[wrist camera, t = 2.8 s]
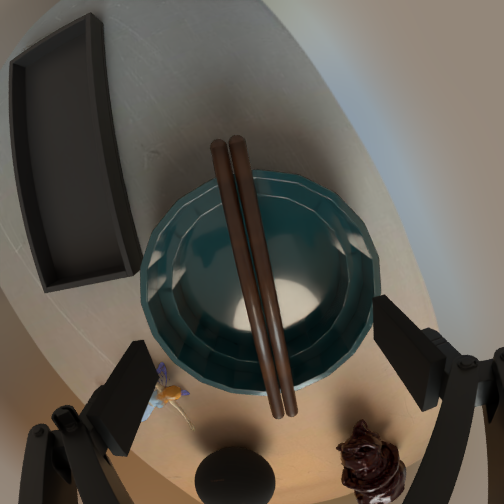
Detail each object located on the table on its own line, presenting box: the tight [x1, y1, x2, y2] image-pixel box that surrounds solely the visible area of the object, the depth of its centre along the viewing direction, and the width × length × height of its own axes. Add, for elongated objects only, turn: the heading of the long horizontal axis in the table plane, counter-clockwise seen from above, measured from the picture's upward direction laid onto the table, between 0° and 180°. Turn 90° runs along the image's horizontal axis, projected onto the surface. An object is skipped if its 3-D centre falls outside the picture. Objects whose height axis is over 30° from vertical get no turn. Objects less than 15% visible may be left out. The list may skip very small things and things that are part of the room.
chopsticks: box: [210, 135, 298, 419], centre depth 21 cm, size 23×2×1 cm, turn 12°
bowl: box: [140, 169, 381, 396], centre depth 25 cm, size 18×18×6 cm
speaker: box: [195, 447, 275, 504], centre depth 29 cm, size 10×10×10 cm
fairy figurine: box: [141, 362, 195, 431], centre depth 29 cm, size 12×5×12 cm
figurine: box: [336, 419, 406, 504], centre depth 30 cm, size 10×10×18 cm
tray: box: [9, 12, 143, 293], centre depth 23 cm, size 11×26×3 cm, turn 12°
